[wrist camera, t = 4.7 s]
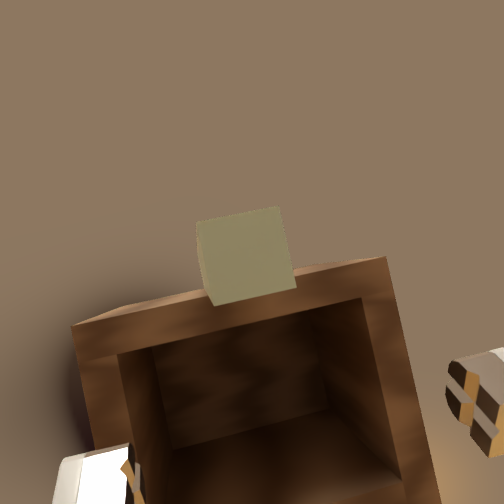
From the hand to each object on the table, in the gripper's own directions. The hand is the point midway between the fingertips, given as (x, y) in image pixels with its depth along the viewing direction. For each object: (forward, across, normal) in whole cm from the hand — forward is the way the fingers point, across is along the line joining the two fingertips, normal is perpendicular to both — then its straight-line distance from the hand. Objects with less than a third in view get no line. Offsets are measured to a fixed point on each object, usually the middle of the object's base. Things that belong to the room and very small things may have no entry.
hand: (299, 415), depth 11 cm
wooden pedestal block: (+7, 0, +31) cm, 32 cm away
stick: (+15, 0, +6) cm, 16 cm away
